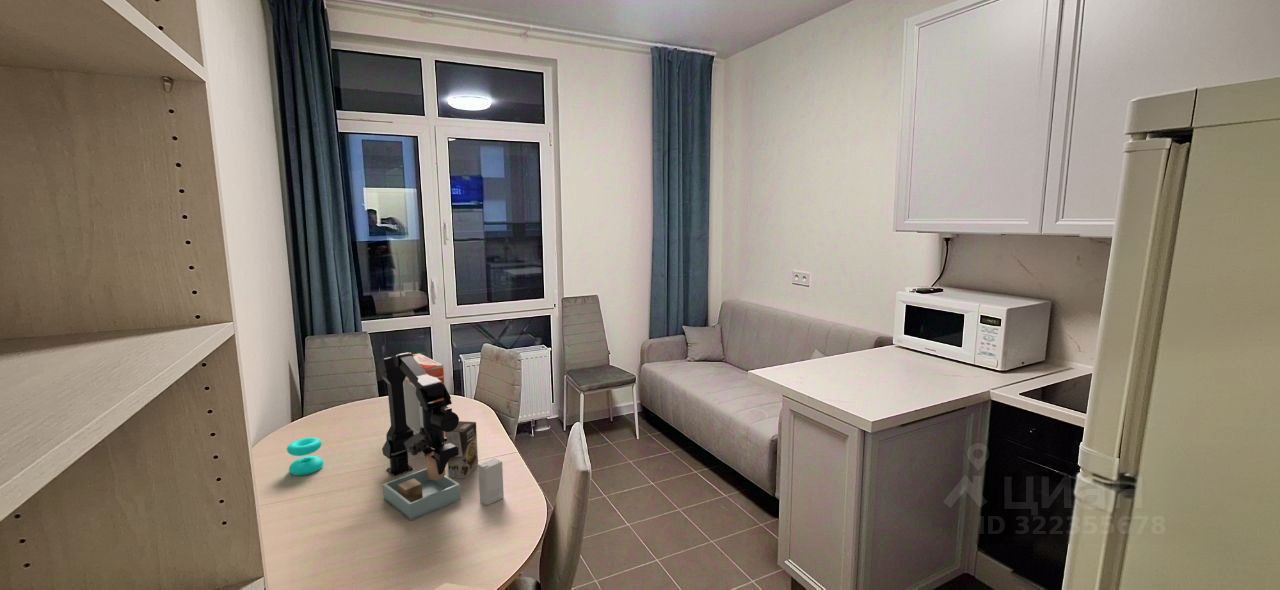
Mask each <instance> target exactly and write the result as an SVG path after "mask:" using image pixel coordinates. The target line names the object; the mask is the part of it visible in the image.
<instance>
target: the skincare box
mask: <svg viewBox="0 0 1280 590" xmlns="http://www.w3.org/2000/svg"><path fill="white" fill-rule="evenodd" d="M477 471H478V489H479V490H478V491H479V501H480V502H481V503H482V504H484V505H485V506H489V505H491V504H493V503H495V502H498V501H500V500H501V499H504V496H505V495H504V476H503V475H504V474H503V462H502V461H501V460H500V459H498V458H495V457H494V458H491V459H489V460H486V461H484V462H481V463H478V467H477Z"/></svg>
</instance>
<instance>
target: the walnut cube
mask: <svg viewBox="0 0 1280 590" xmlns="http://www.w3.org/2000/svg"><path fill="white" fill-rule="evenodd" d="M398 493H399V494H400V495H402V496H403V497H404V498H406V499H407V500H408V501H410V502H414V501H416V500H419V499H421V498H423V495H422V484H421V483H420V482H418V481H417V480H415V479H411V480H408V481H406V482H403V483H400V484H398Z"/></svg>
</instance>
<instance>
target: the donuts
mask: <svg viewBox="0 0 1280 590" xmlns="http://www.w3.org/2000/svg"><path fill="white" fill-rule="evenodd" d="M322 444H323V443H322V440H321V439H320V438H318V437H312V436H311V437H309V436H308V437H303V438H299V439H296V440H294V441H292V442H290V443H289V444H288V445H287V447H286V451H287V453H288V454H289V455H291V456H295V457H299V458H297V459H295V460H293V462H291V463H290V465H289V467H288V471H289V473H290V474H291V475H293V476H305V475H309V474H312V473H315V472H317V471H319V470H321V468H322V467H323V465H324V460H323V458H322V457H320V456H316V455H310V454H313V453H316V452H317V451H318V450H319V449H320V448H321V446H322Z"/></svg>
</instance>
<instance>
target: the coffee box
mask: <svg viewBox="0 0 1280 590" xmlns="http://www.w3.org/2000/svg"><path fill="white" fill-rule="evenodd" d="M477 431H478V430H477V422H476V421H460V420H459V423H458V426H457V427H456V428H455V429H454V430H453V431H451V432H446V436H447V441H446V444H449V443H451V444H453V445H455V446H456V447H458V448H459V455H457V456H455V457H452V458H450V459H449V460H448V462H447V472H448V474H447V476H448V477H449V478H458V479H466V478H467V477H468V476H469V475H470V474H472V473H473V472H474V471H475V470H476V469H478V465H479V458H478V457H479V456H478V454H479V453H478V435H477Z"/></svg>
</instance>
